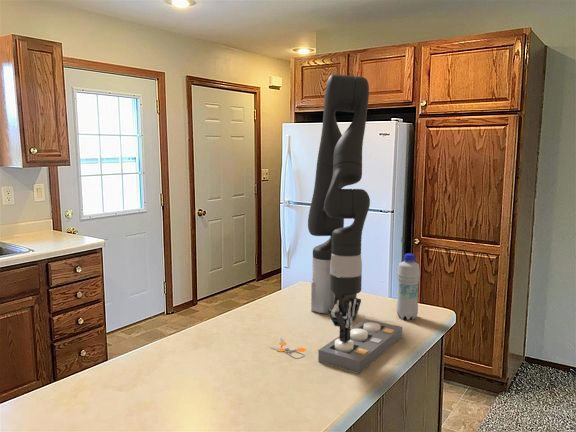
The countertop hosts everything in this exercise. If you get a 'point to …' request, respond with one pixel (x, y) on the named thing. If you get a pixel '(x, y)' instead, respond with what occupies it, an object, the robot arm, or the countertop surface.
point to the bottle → (408, 287)
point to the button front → (344, 346)
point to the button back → (372, 327)
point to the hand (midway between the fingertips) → (344, 340)
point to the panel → (361, 348)
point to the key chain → (288, 349)
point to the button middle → (359, 335)
